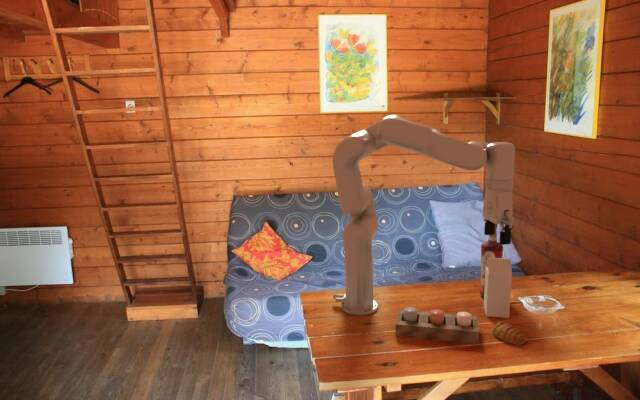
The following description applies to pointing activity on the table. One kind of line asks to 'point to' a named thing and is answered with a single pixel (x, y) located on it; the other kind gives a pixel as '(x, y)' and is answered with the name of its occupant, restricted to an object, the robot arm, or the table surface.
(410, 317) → the grey rounded block
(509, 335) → the pastry
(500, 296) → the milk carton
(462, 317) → the white button
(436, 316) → the brick key
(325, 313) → the table surface
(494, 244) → the liquor
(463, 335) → the console
